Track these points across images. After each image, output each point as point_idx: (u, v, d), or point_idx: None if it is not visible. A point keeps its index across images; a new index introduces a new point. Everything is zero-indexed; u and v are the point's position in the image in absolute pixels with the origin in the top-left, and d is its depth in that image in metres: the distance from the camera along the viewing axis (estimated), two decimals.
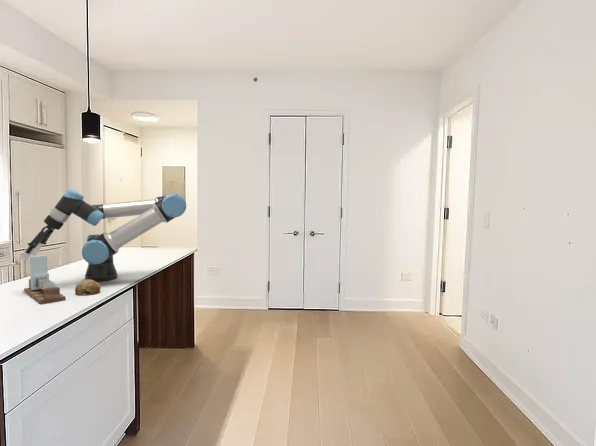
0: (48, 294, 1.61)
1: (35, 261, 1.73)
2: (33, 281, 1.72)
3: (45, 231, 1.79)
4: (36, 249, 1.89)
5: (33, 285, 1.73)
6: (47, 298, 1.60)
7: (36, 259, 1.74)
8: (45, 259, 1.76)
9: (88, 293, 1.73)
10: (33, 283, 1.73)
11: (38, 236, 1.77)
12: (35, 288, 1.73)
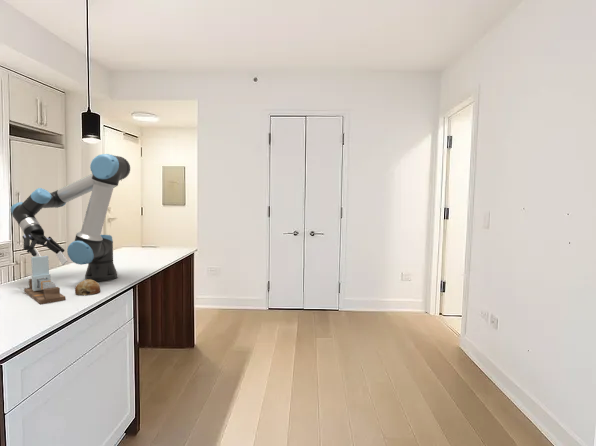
0: (48, 294, 1.61)
1: (36, 262, 1.72)
2: (34, 282, 1.71)
3: (25, 235, 1.80)
4: (61, 257, 1.89)
5: (34, 286, 1.71)
6: (47, 298, 1.60)
7: (37, 260, 1.72)
8: (46, 260, 1.74)
9: (88, 293, 1.73)
10: (34, 284, 1.71)
11: (24, 241, 1.78)
12: (36, 289, 1.71)
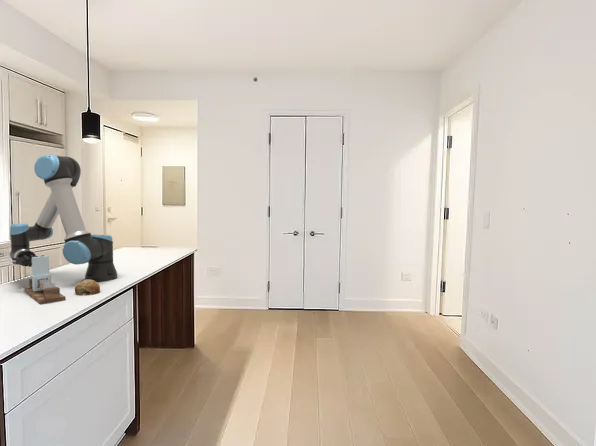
0: (48, 294, 1.61)
1: (37, 262, 1.71)
2: (35, 282, 1.70)
3: (14, 260, 1.80)
4: None
5: (35, 286, 1.70)
6: (47, 298, 1.60)
7: (38, 260, 1.72)
8: (47, 260, 1.74)
9: (88, 293, 1.74)
10: (35, 284, 1.70)
11: (18, 262, 1.78)
12: (37, 289, 1.71)
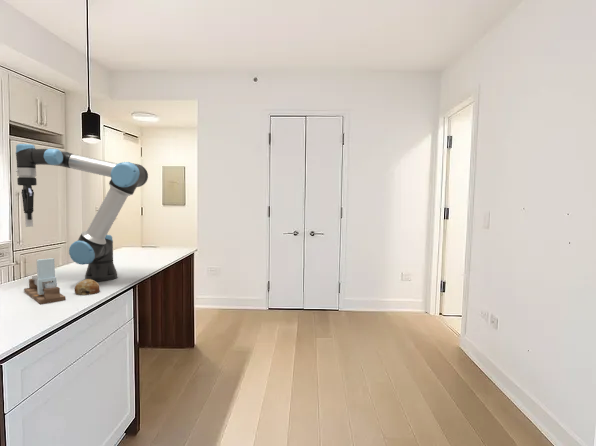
0: (48, 294, 1.61)
1: (42, 264, 1.65)
2: (40, 285, 1.64)
3: (31, 195, 1.85)
4: None
5: (40, 290, 1.65)
6: (47, 298, 1.60)
7: (43, 262, 1.66)
8: (52, 262, 1.68)
9: (87, 293, 1.74)
10: (40, 288, 1.64)
11: (29, 201, 1.86)
12: (42, 293, 1.65)
